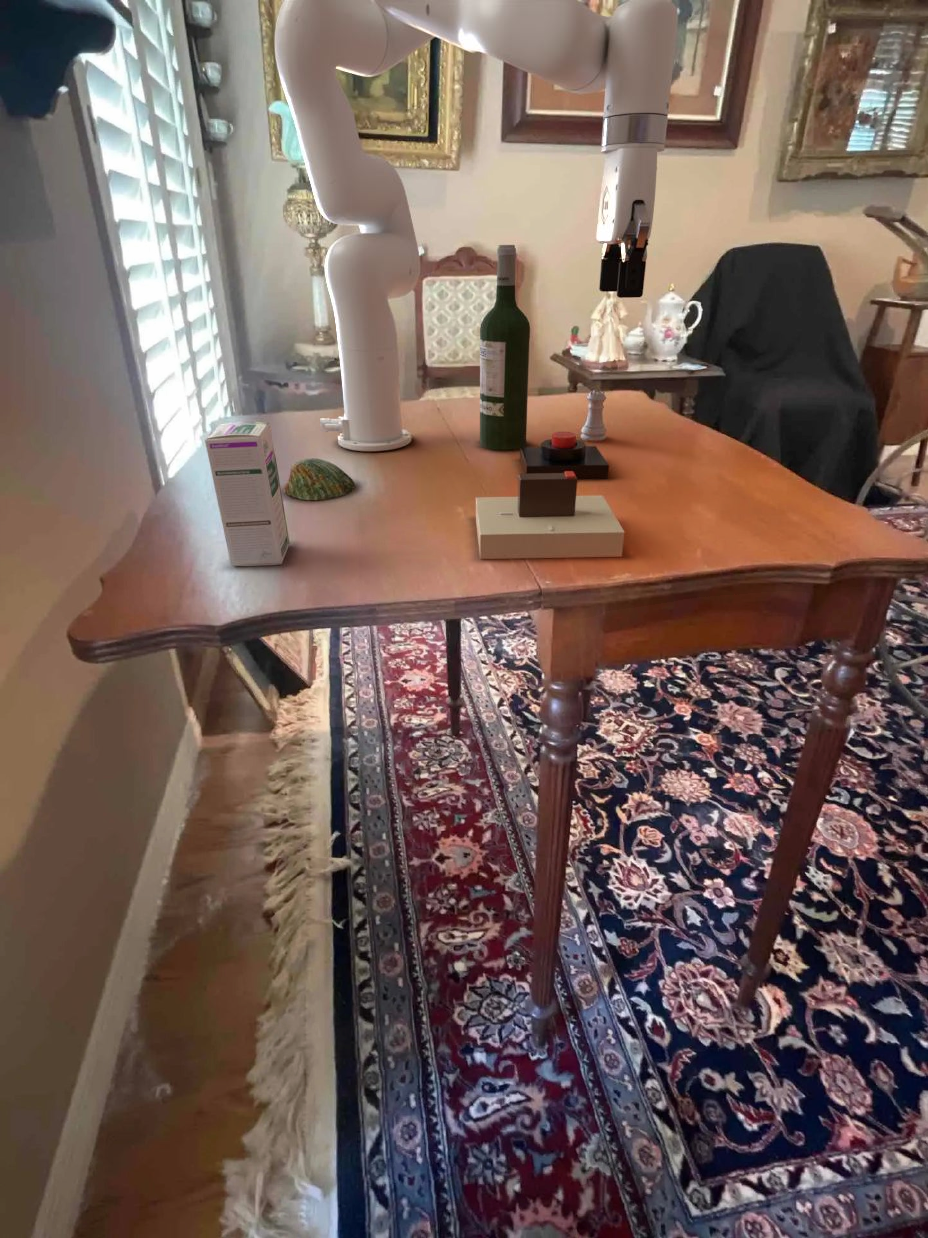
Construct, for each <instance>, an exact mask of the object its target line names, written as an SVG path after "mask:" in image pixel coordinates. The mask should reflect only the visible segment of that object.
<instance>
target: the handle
mask: <svg viewBox="0 0 928 1238" xmlns="http://www.w3.org/2000/svg"><path fill="white" fill-rule="evenodd" d="M517 479H518V480H517V481H518V482H517V483H518V484H517V497H518V508H517V510H518V514H519V517H534V516H574V515H575V504H576V496H577V489H578V480H577V477H576V475H575V474H574V472H573V471H564V473H538V474H524V473H518V478H517Z"/></svg>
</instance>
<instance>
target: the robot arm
mask: <svg viewBox="0 0 928 1238" xmlns="http://www.w3.org/2000/svg"><path fill="white" fill-rule="evenodd" d="M678 13H679V12H678V9H677V6H676V5H675V4H674V3H673V1H671V0H628V1H625V2H623V3H621V4H620V5H619V6H617V7H616V8H615V10H614V11H613V13H612V14H611V16H607V15H606V16H605V15H602V14H600V13H597V12H595V11H593V10H592V9H591V8H590V7H588V6H587V5H586V4H584V3H582V2H581V1H579V0H283V1H282V3H281V6H280V8H279V11H278V14H277V19H276V23H275V30H274V57H275V63H276V69H277V73H278V76H279V79H280V84H281V86H282V89H283V92H284V94H285V98H286V101H287V103H288V106H289V108H290V112H291V115H292V118H293V121H294V125H295V130H296V131H297V132H296V133H297V137H298V142H299V145H300V149H301V152H302V153H301V154H302V156H303V160H304V164H305V168H306V171H307V175H308V178H309V179H308V180H309V182H310V185H311V189H312V193H313V196H314V197H313V198H314V200H315V203H316V206H317V209H318V210H319V212H320V214H321V215H322V217H323V218H324V219H325V220H326V221H328V222H329V223H332V224H335V225H339V226H359V229H360V232H357V233H349V234H347V235H343V236H342V237H340V238H338V239H337V240H336V241H334V242H333V244H331V246H330V247H329V249H328V251H327V254H326V257H325V262H324V274H325V280H326V284H327V289H328V293H329V296H330V299H331V304H332V308H333V314H334V318H335V327H336V336H337V348H338V354H339V365H340V375H341V387H342V398H343V409H344V410H343V411H344V413H343V416H338V417H337V418H320V419H319V426H320V427H319V428H320V430H321V431H324V432H325V433H334V432H335V433H336V432H337V433H339V435H338V436H337V443H338V445H339V446H340V447H341V448H344V449H346V450H350V451H357V452H383V451H384V452H385V451H391V450H396V449H400V448H402V447H406V446H407V445H409V444H410V443H411V442H412V433H411V432H410V431H408V430H407V429H404V428H403V426H402V425H403V424H402V407H401V406H402V405H401V388H400V385H401V384H400V367H399V365H400V364H399V349H398V347H399V346H398V335H397V325H396V321H395V317H394V315H393V311H392V309H391V306H390V302H389V300H392V299H397V298H401V297H402V298H403V297H404V296H406V295H409V294H410V293H411V292H412V291H413V290H414V289H415V287H416V286H417V284H418V281H419V278H420V275H421V257H420V251H419V247H418V241H417V237H416V232H415V229H414V223H413V221H412V220H413V219H412V215H411V210H410V206H409V202H408V197H407V193H406V190H405V185H404V184H403V181H402V179H401V176H400V174H399V172H398V171H397V169H396V168H395V167H394V165H393V164H392V163H391V162H390V161H388V160H387V159H385V158H384V157H382V156H380V155H376V154H372V153H366V152H365V151H364V149H363V146H362V142H361V139H360V137H359V132H358V129H357V124H356V119H355V115H354V112H353V109H352V106H351V103H350V101H349V99H348V96H347V94H346V93H345V91H344V89H343V88H342V85H341V83H340V82H339V79H338V77H337V74H336V69H337V70H340V71H342V72H346V73H350V74H353V75H356V76H360V77H367V78H372V77H376V76H380V75H382V74H384V73H386V72H388V71H389V70H391V69H392V68H393V67H395V66H396V65H398V64H399V63H401V62H402V61H404V60H405V59H407V58H408V57H409V56H411V55H412V54H413V53H415V52H416V51H418V50H419V49H421V48H422V47H424V46H425V45H426V44H428V43H429V42H431V41H432V40H434V38H437V39H440V40H442V41H444V42H446V43H448V44H452V45H453V46H456V47H458V48H459V49H462V50H463V51H466V52H469V53H471V54H475V53H476V52H479V53H483V54H485V55H487V56H490V57H492V58H494V59H497V60H499V61H501V62H504V63H506V64H508V65H510V66H513V67H515V68H518V69H519V70H521V71H524V72H526V73H528V74H530V75H532V76H535V77H536V78H538V79H541V80H543V81H545V82H547V83H549V84H553V85H555V86H557V87H559V88H562V89H563V90H566V91H568V92H570V93H573V94H577V95H588V94H592V93H596V92H600V91H603V90H604V100H603V101H604V103H603V117H602V119H603V120H602V129H601V131H602V132H601V143H600V145H601V146H600V153H601V154H605V161H604V166H603V173H602V179H601V187H600V196H599V203H598V204H599V205H598V215H597V224H596V233H595V234H596V235H595V237H596V241H597V242H598V243H599V244H602V245H603V247H602V251H601V260H600V261H601V262H600V272H599V273H600V274H599V288H598V289H599V291H600V292H603V293H605V292H606V293H610V292H616V296H617V298H620V299H623V298H627V299H629V298H641V297H643V295H644V287H645V277H646V266H647V260H648V249H647V246H649V240H650V238H651V234H652V229H653V222H654V221H653V220H654V212H655V201H656V190H657V189H656V188H657V171H658V153H660V152H664V151H665V146H666V145H665V144H666V139H667V128H668V119H669V117H668V116H669V110H670V101H671V91H672V83H673V82H672V81H673V71H674V63H675V54H676V43H677V35H678V23H679V14H678Z"/></svg>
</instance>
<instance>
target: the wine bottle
mask: <svg viewBox="0 0 928 1238" xmlns="http://www.w3.org/2000/svg"><path fill="white" fill-rule="evenodd" d="M496 252H497V253H496V254H497V271H496V289H495V291H496V292H495V293H496V294H495V302H494V305H493V307H492V308H491V309H490V310H489V311H488V312H487V313H486V314H485V316H484V317H483V318H482V320H481V323H480V328H479V445H480V446H481V448H484V449H486V450H489V451H496V452H510V451H511V452H512V451H518V450H520V447H526V445H527V427H528V426H527V425H528V422H527V421H528V403H529V401H528V399H529V397H528V396H529V370H530V346H531V345H530V343H531V341H530V340H531V325H530V322H529V319H528V317H527V315H525V313H524V312H523V311H522V310H521V309H520V307H519V306H518V304H517V301H516V255H517V249H516V245H515V244H499V245H498V247H497V251H496Z"/></svg>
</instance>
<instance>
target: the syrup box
mask: <svg viewBox="0 0 928 1238" xmlns="http://www.w3.org/2000/svg"><path fill="white" fill-rule="evenodd" d="M204 443H205V448H206V453H207V458H208V462H209V467H210V472H211V477H212V480H213V486H214V492H215V495H216V501H217V506H218V511H219V515H220V519H221V524H222V529H223V533H224V539H225V542H226V543H225V544H226V547H227V553H228V557H229V562H230V565H231V566H233V567H259V566H261V567H262V566H276V565H277V566H278V565H282V564H283V561H284V558H285V557H286V554H287V553H288V549H289V546H290V536H289V531H288V525H287V518H286V512H285V507H284V501H283V494H282V488H281V482H280V476H279V469H278V463H277V457H276V452H275V447H274V440H273V434H272V428H271V424H270V422H264V421H237V422H229V423H228V422H227V423H218V424H217V426H216V428H215V429H214V430H213V431H212V432H210V434H209V435H207V437H206V438H205V439H204Z"/></svg>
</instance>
